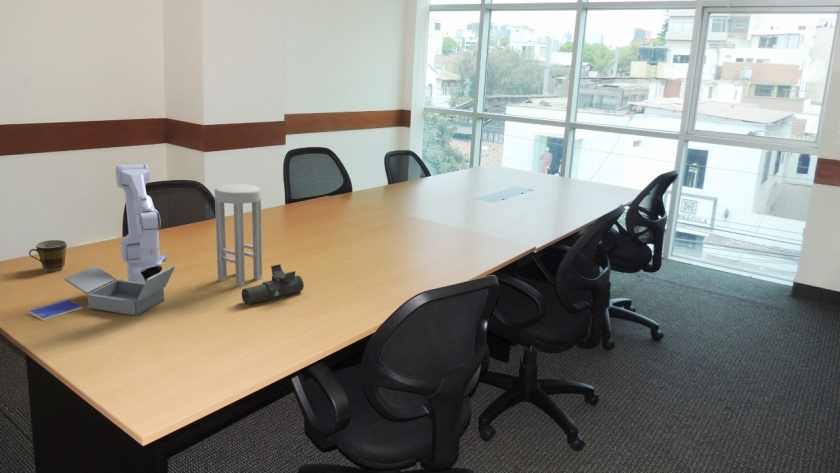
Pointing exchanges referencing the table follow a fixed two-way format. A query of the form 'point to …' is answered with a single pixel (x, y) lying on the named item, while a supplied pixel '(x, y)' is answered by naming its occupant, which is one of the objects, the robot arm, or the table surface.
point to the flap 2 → (155, 283)
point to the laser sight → (274, 287)
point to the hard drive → (55, 309)
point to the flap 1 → (90, 279)
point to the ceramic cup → (51, 254)
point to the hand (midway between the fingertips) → (151, 288)
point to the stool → (238, 230)
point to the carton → (123, 298)
